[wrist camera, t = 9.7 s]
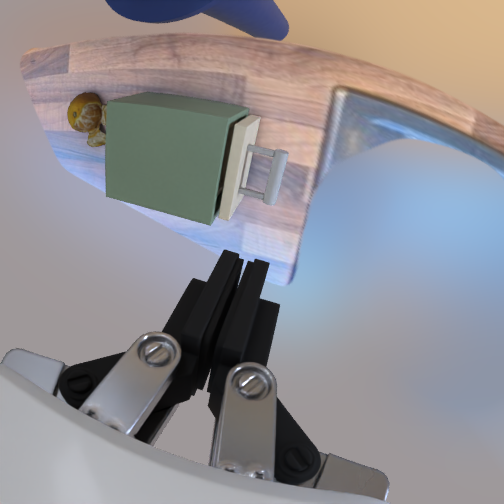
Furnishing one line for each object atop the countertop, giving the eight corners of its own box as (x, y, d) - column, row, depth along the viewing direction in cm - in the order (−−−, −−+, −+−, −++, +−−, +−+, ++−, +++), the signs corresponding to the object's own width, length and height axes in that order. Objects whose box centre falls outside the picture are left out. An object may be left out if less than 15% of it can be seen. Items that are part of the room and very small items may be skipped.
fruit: (101, 152, 39) (86, 159, 36) (69, 120, 37) (53, 126, 34) (127, 108, 35) (111, 113, 32) (91, 76, 33) (74, 80, 30)
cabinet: (249, 107, 33) (228, 118, 26) (232, 194, 39) (210, 225, 32) (147, 91, 33) (107, 101, 26) (141, 171, 40) (105, 196, 33)
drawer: (297, 126, 32) (291, 138, 26) (276, 205, 38) (266, 232, 32) (162, 98, 33) (132, 107, 27) (155, 174, 39) (128, 194, 33)
